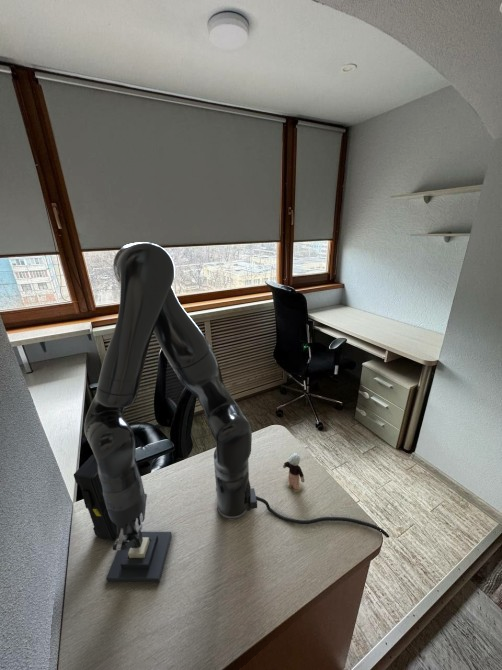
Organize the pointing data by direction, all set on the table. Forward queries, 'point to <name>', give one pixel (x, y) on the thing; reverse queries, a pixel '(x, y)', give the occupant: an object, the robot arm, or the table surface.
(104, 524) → the portable radio
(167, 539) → the push button
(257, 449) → the table surface
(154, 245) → the robot arm
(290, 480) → the grandmother figurine
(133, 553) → the key
